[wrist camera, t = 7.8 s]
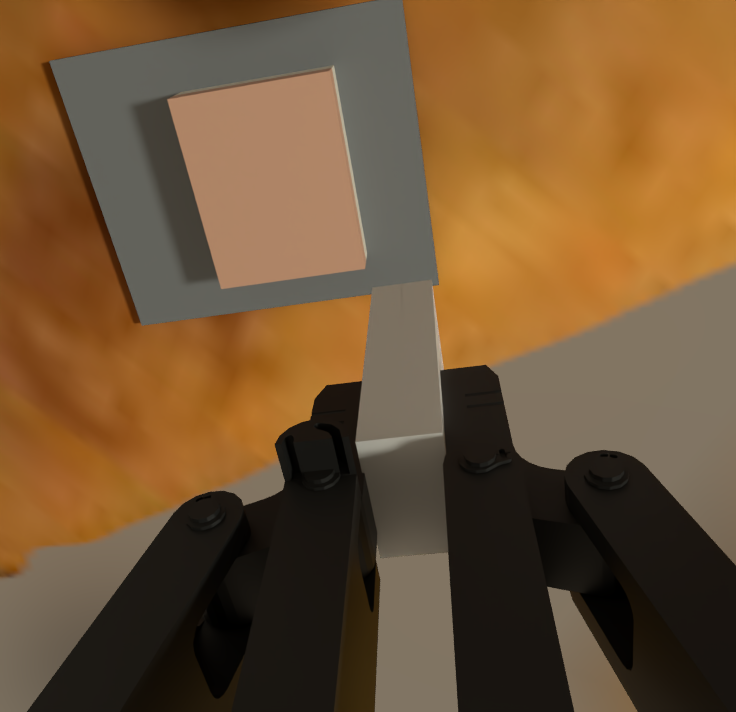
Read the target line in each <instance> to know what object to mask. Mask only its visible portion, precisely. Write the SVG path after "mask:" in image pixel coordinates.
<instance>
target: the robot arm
mask: <svg viewBox="0 0 736 712" xmlns="http://www.w3.org/2000/svg"><path fill="white" fill-rule="evenodd" d="M275 447H276V451H277V455H278V458H279V462H280V465H281V469H282V472H283V476H284V479H285V484H284V488H283V490H282V491H280V492H279V493H277V494H275V495H273V496H271V497H268V498H266V499H263V500H260V501H257V502H254V503H251V504H248V505H245V506H243V503H242V500H241V499H240V498H239V497H238V496H236V495H235V494H234V493H229V492H226V491H215V492H208V493H205V494H202V495H199V496H196V497H194V498H192V499H191V500H189V501H187V502H185V503H184V504H182V505H181V506H180V507H179V508H178V509H177V510H176V512H174V514H173V515H172V516H171V518H170V519H169V520H168V522H167V523H166V524H165V526H164V527H163V529H162V530H161V531H160V532H159V534H158V535H157V536H156V538H155V539H154V541H153V542H152V543H151V545H150V546H149V547H148V549H147V550H146V551H145V553H144V554H143V555H142V557H141V558H140V559H139V561H138V562H137V564H136V565H135V566H134V568H133V569H132V570H131V572H130V573H129V574H128V576H127V577H126V578H125V580H124V581H123V583H122V584H121V585H120V587H119V588H118V589H117V591H116V592H115V594H114V595H113V596H112V597H111V599H110V600H109V601H108V603H107V604H106V605H105V607H104V608H103V610H102V611H101V612H100V614H99V615H98V616H97V618H96V619H95V620H94V622H93V623H92V624H91V626H90V627H89V628H88V630H87V631H86V633H85V634H84V635H83V637H82V638H81V639H80V641H79V642H78V644H77V645H76V646H75V648H74V649H73V650H72V651H71V653H70V654H69V656H68V657H67V658H66V660H65V661H64V662H63V664H62V665H61V666H60V668H59V669H58V670H57V672H56V673H55V675H54V676H53V677H52V679H51V680H50V681H49V683H48V684H47V685H46V687H45V688H44V689H43V691H42V692H41V693H40V695H39V696H38V697H37V699H36V700H35V702H34V703H33V704H32V706H31V707H30V709H29V710H28V711H27V712H375V690H376V689H375V688H376V667H377V643H378V619H379V595H380V577H379V572H378V567H377V563H376V548H377V547H376V546H377V545H378V549H379V554H380V558H387V557H399V556H410V555H422V554H434V553H445V552H448V555H449V571H450V587H451V602H452V618H453V634H454V650H455V666H456V681H457V698H458V712H574V708H573V704H572V699H571V695H570V690H569V685H568V681H567V676H566V672H565V667H564V662H563V658H562V653H561V649H560V644H559V639H558V635H557V630H556V626H555V621H554V616H553V612H552V607H551V603H550V598H549V594H548V589H547V587H552V588H557V589H563V590H568V591H570V593H571V596H572V600H573V601H574V603H575V605H576V606H577V608H578V610H579V612H580V613H581V615H582V617H583V619H584V620H585V622H586V624H587V625H588V627H589V629H590V631H591V632H592V634H593V636H594V637H595V639H596V641H597V643H598V644H599V646H600V648H601V649H602V651H603V653H604V655H605V656H606V658H607V660H608V661H609V663H610V665H611V666H612V668H613V670H614V672H615V673H616V675H617V677H618V679H619V680H620V682H621V684H622V685H623V687H624V689H625V691H626V692H627V694H628V696H629V697H630V699H631V701H632V702H633V704H634V706H635V708H636V709H637V711H638V712H736V565H735V564H734V563H733V562H732V561H731V560H730V559H729V558H728V557H727V555H726V554H725V553H724V552H723V551H722V550H721V549H720V548H719V547H718V545H717V544H716V543H715V542H714V541H713V540H712V539H711V538H710V537H709V536H708V534H707V533H706V532H705V531H704V530H703V529H702V528H701V527H700V526H699V524H698V523H697V522H696V521H695V520H694V519H693V518H692V517H691V516H690V515H689V514H688V512H687V511H686V510H685V509H684V508H683V507H682V506H681V505H680V504H679V502H678V501H677V500H676V499H675V498H674V497H673V496H672V495H671V494H670V493H669V491H668V490H667V489H666V488H665V487H664V486H663V485H662V484H661V483H660V481H659V480H658V479H657V478H656V477H655V476H654V475H653V474H652V473H651V472H650V471H649V469H648V468H647V467H646V466H645V465H644V464H643V463H641V462H640V461H638V460H637V459H636V458H634V457H632V456H630V455H627V454H624V453H621V452H617V451H607V450H600V451H592V452H587V453H584V454H582V455H580V456H577V457H575V458H574V459H573V460H572V461H571V462H570V463H569V464H568V465H567V467H566V470H556V469H549V468H544V467H540V466H537V465H534V464H532V463H529V462H528V461H526V460H525V459H523V458H521V457H520V456H519V454H518V453H517V452H516V451H515V448H514V446H513V443H512V438H511V434H510V429H509V424H508V420H507V415H506V411H505V406H504V401H503V397H502V393H501V388H500V383H499V378H498V376H497V375H496V374H495V373H494V372H493V371H492V370H491V369H490V368H489V367H487V366H486V365H481V366H473V367H464V368H456V369H447V370H444V368H443V361H442V353H441V346H440V338H439V331H438V323H437V316H436V309H435V301H434V294H433V286H432V280H426V281H418V282H411V283H404V284H396V285H389V286H381V287H374V288H372V297H371V306H370V315H369V324H368V333H367V342H366V351H365V360H364V369H363V378H362V381H360V382H351V383H343V384H334V385H326V387H325V388H324V389H323V390H322V391H321V392H320V394H319V395H318V396H317V397H316V398H315V400H314V405H313V409H312V416H311V419H310V421H305V422H301V423H299V424H297V425H295V426H293V427H290V428H289V429H287V430H286V431H285V432H284V433H283V434H281V435H280V436H279V438H278V440H277V441H276V443H275Z"/></svg>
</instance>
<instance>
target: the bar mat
mask: <svg viewBox="0 0 736 712" xmlns="http://www.w3.org/2000/svg"><path fill="white" fill-rule="evenodd" d="M49 62H50V65H51V68H52V71H53V74H54V76H55V79H56V82H57V85H58V88H59V91H60V93H61V96H62V99H63V102H64V105H65V108H66V111H67V113H68V116H69V119H70V122H71V125H72V128H73V131H74V133H75V136H76V139H77V142H78V145H79V148H80V150H81V153H82V156H83V159H84V162H85V165H86V168H87V170H88V173H89V176H90V179H91V182H92V185H93V188H94V190H95V193H96V196H97V199H98V202H99V205H100V207H101V210H102V213H103V216H104V219H105V222H106V225H107V227H108V230H109V233H110V236H111V239H112V242H113V245H114V247H115V250H116V253H117V256H118V259H119V262H120V264H121V267H122V270H123V273H124V276H125V279H126V282H127V284H128V287H129V290H130V293H131V296H132V299H133V302H134V304H135V307H136V310H137V313H138V316H139V319H140V321H141V324H142V325H149V324H157V323H164V322H171V321H179V320H186V319H193V318H201V317H208V316H215V315H222V314H230V313H237V312H244V311H252V310H259V309H266V308H274V307H281V306H288V305H296V304H303V303H310V302H317V301H325V300H332V299H339V298H347V297H354V296H361V295H369V294H372V288H374V287H381V286H389V285H396V284H404V283H411V282H418V281H426V280H432V286H434V285H439V281H438V273H437V265H436V258H435V250H434V242H433V234H432V227H431V219H430V211H429V203H428V196H427V188H426V180H425V172H424V164H423V157H422V149H421V141H420V133H419V126H418V118H417V110H416V102H415V95H414V87H413V79H412V71H411V64H410V56H409V48H408V40H407V33H406V25H405V17H404V9H403V2H402V0H375V1H369V2H364V3H358V4H353V5H348V6H342V7H337V8H332V9H326V10H321V11H315V12H310V13H305V14H299V15H294V16H288V17H283V18H278V19H272V20H267V21H262V22H256V23H251V24H245V25H240V26H235V27H229V28H224V29H219V30H213V31H208V32H202V33H197V34H192V35H186V36H181V37H175V38H170V39H165V40H159V41H154V42H149V43H143V44H138V45H132V46H127V47H122V48H116V49H111V50H106V51H100V52H95V53H89V54H84V55H79V56H73V57H68V58H62V59H57V60H52V61H49ZM332 65H334V68H335V74H336V80H337V85H338V91H339V97H340V102H341V108H342V114H343V119H344V125H345V131H346V136H347V142H348V148H349V153H350V159H351V165H352V170H353V176H354V182H355V187H356V193H357V199H358V204H359V210H360V216H361V221H362V227H363V233H364V239H365V244H366V250H367V258H366V266H365V269H361V270H354V271H346V272H339V273H332V274H325V275H318V276H311V277H304V278H297V279H290V280H283V281H276V282H269V283H261V284H254V285H247V286H240V287H233V288H226V289H221V287H220V283H219V280H218V276H217V273H216V269H215V266H214V262H213V259H212V255H211V252H210V248H209V245H208V241H207V238H206V234H205V231H204V227H203V224H202V220H201V217H200V213H199V209H198V206H197V202H196V199H195V195H194V192H193V188H192V185H191V181H190V178H189V174H188V171H187V167H186V164H185V160H184V157H183V153H182V150H181V146H180V143H179V139H178V136H177V132H176V129H175V125H174V122H173V118H172V115H171V111H170V108H169V104H168V101H167V99H169V98H171V97H173V96H175V95H176V94H178V93H180V92H185V91H190V90H196V89H202V88H207V87H213V86H219V85H224V84H230V83H236V82H241V81H247V80H253V79H258V78H264V77H270V76H275V75H281V74H287V73H292V72H298V71H304V70H309V69H315V68H321V67H326V66H332Z"/></svg>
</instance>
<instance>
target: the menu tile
mask: <svg viewBox="0 0 736 712" xmlns="http://www.w3.org/2000/svg"><path fill="white" fill-rule="evenodd" d="M167 101H168V104H169V108H170V111H171V115H172V118H173V122H174V125H175V129H176V132H177V136H178V139H179V143H180V146H181V150H182V153H183V157H184V160H185V164H186V167H187V171H188V174H189V178H190V181H191V185H192V188H193V192H194V195H195V199H196V202H197V206H198V209H199V213H200V217H201V220H202V224H203V227H204V231H205V234H206V238H207V241H208V245H209V248H210V252H211V255H212V259H213V262H214V266H215V269H216V273H217V276H218V280H219V283H220V287H221V289H226V288H233V287H240V286H247V285H254V284H261V283H269V282H276V281H283V280H290V279H297V278H304V277H311V276H318V275H325V274H332V273H339V272H346V271H354V270H361V269H365V266H366V258H367V250H366V244H365V239H364V233H363V227H362V221H361V216H360V210H359V204H358V199H357V193H356V187H355V182H354V176H353V170H352V165H351V159H350V153H349V148H348V142H347V136H346V131H345V125H344V119H343V114H342V108H341V102H340V97H339V91H338V85H337V80H336V74H335V68H334V65H332V66H326V67H321V68H315V69H309V70H304V71H298V72H292V73H287V74H281V75H275V76H270V77H264V78H258V79H253V80H247V81H241V82H236V83H230V84H224V85H219V86H213V87H207V88H202V89H196V90H190V91H185V92H180V93H178V94H176V95H175V96H173V97H171V98H169V99H167Z"/></svg>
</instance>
